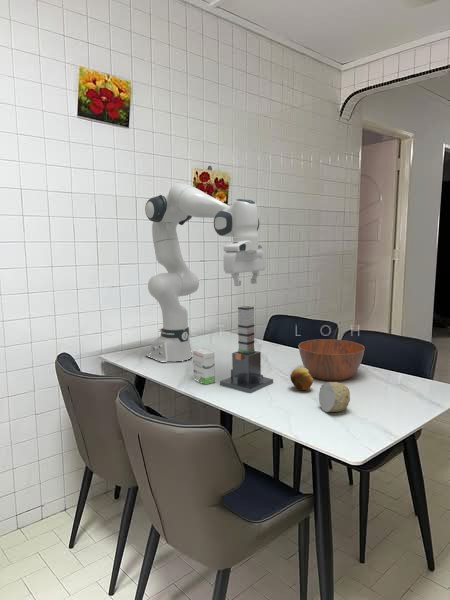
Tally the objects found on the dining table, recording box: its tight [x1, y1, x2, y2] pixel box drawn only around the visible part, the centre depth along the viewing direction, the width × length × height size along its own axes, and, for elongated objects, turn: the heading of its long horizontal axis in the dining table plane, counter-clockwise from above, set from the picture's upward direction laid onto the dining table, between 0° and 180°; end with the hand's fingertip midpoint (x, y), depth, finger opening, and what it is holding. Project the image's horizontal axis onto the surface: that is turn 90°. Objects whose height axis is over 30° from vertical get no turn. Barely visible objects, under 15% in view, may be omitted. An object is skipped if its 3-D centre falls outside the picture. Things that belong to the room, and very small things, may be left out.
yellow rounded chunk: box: [318, 381, 351, 413], centre depth 136 cm, size 10×10×10 cm
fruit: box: [289, 366, 314, 392], centre depth 155 cm, size 8×8×8 cm
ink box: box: [192, 348, 216, 385], centre depth 166 cm, size 9×5×12 cm, turn 35°
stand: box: [219, 350, 274, 394], centre depth 162 cm, size 14×14×12 cm
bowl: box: [297, 338, 365, 382], centre depth 172 cm, size 25×25×11 cm
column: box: [237, 305, 255, 355], centre depth 160 cm, size 4×4×18 cm
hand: (245, 284), depth 158 cm, fingers open, 8 cm apart
